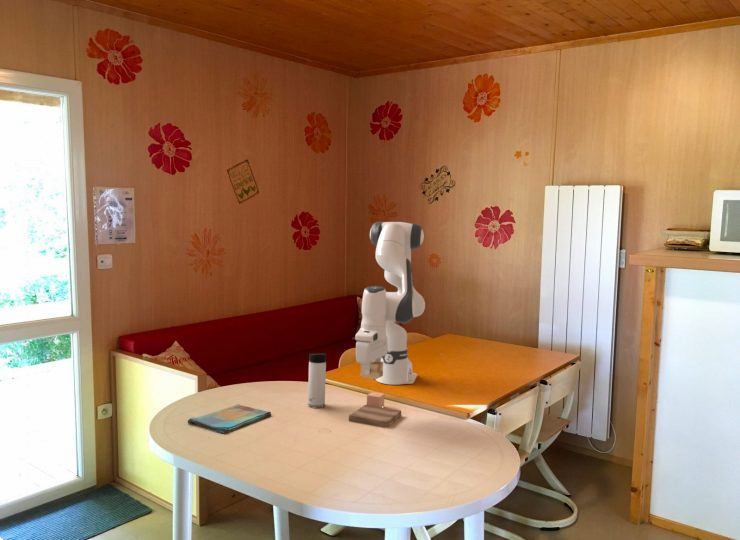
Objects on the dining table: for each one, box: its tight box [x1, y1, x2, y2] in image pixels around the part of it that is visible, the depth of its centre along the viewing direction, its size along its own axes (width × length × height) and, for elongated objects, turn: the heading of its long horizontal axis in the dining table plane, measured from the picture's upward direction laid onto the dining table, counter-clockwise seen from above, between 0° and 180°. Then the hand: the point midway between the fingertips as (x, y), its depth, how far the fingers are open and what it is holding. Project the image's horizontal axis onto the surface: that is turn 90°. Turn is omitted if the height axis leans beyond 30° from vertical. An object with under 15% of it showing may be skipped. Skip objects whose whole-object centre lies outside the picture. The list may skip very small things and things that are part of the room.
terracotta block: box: [366, 391, 386, 407], centre depth 221 cm, size 5×5×5 cm
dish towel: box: [187, 403, 272, 435], centre depth 202 cm, size 17×23×2 cm
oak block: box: [359, 360, 383, 380], centre depth 209 cm, size 6×6×5 cm
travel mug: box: [307, 352, 327, 408], centre depth 220 cm, size 6×7×20 cm
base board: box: [348, 404, 402, 428], centre depth 208 cm, size 14×14×2 cm
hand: (372, 371), depth 209 cm, fingers closed on oak block, 6 cm apart
